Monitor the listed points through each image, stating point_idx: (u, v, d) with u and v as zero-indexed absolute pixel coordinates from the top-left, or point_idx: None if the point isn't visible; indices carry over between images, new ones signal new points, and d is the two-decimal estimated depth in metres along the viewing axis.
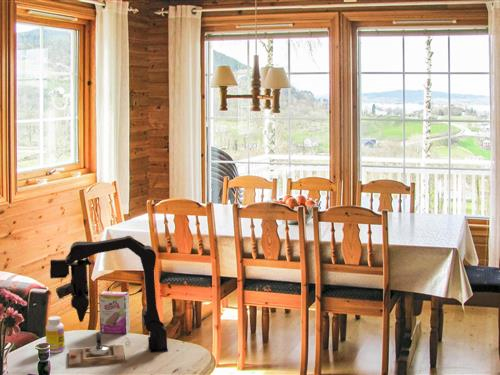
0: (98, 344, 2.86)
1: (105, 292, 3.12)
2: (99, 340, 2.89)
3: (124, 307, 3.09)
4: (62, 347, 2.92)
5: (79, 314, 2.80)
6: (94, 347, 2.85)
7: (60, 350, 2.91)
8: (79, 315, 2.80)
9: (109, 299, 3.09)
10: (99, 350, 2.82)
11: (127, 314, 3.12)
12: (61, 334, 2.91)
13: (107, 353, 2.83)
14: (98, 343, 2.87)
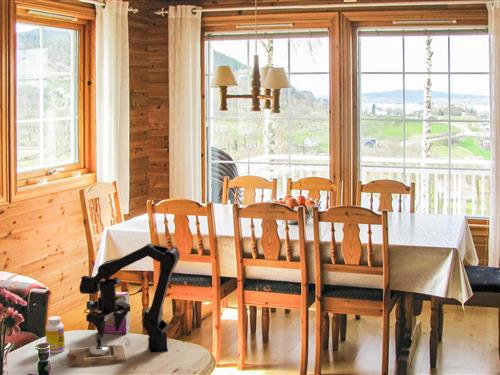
0: (98, 344, 2.86)
1: None
2: (99, 340, 2.89)
3: None
4: (62, 347, 2.92)
5: (98, 330, 2.91)
6: (94, 347, 2.85)
7: (60, 350, 2.91)
8: (98, 330, 2.92)
9: None
10: (99, 350, 2.82)
11: (127, 314, 3.12)
12: (61, 334, 2.91)
13: (107, 353, 2.83)
14: (98, 343, 2.87)
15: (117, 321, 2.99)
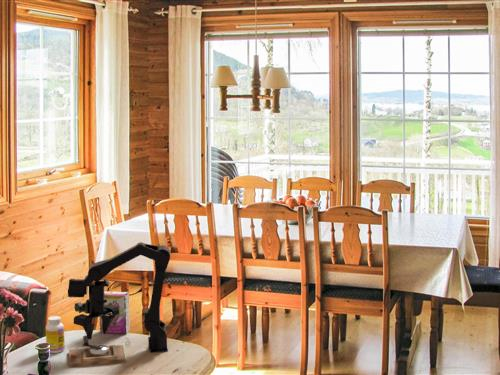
0: (94, 345, 2.85)
1: (105, 292, 3.12)
2: None
3: (124, 307, 3.09)
4: (62, 347, 2.92)
5: (86, 332, 2.87)
6: (94, 349, 2.83)
7: (60, 350, 2.91)
8: (87, 333, 2.88)
9: (109, 299, 3.09)
10: (105, 349, 2.83)
11: (127, 314, 3.12)
12: (61, 334, 2.91)
13: None
14: (91, 345, 2.86)
15: (104, 324, 2.94)
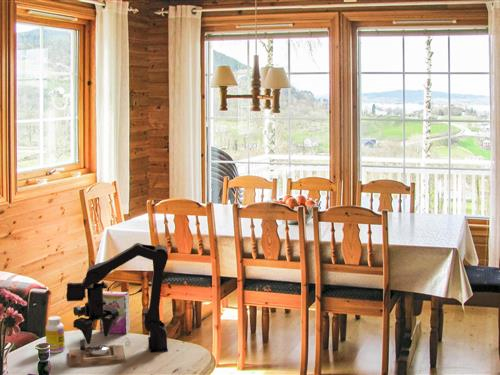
0: (93, 347, 2.84)
1: (105, 292, 3.12)
2: None
3: (124, 307, 3.09)
4: (62, 347, 2.92)
5: (85, 336, 2.85)
6: (97, 349, 2.83)
7: (60, 350, 2.91)
8: (85, 337, 2.85)
9: (109, 299, 3.09)
10: (106, 347, 2.85)
11: (127, 314, 3.12)
12: (61, 334, 2.91)
13: None
14: (90, 347, 2.83)
15: (105, 326, 2.93)
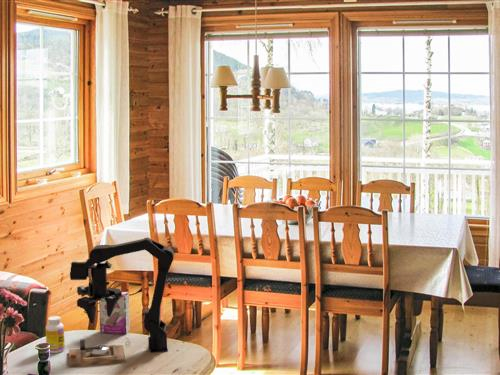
0: (93, 347, 2.84)
1: None
2: None
3: (124, 307, 3.09)
4: (62, 347, 2.92)
5: (88, 315, 2.86)
6: (97, 349, 2.83)
7: (60, 350, 2.91)
8: (89, 316, 2.87)
9: None
10: (106, 347, 2.85)
11: (127, 314, 3.12)
12: (61, 334, 2.91)
13: None
14: (90, 347, 2.83)
15: (109, 306, 2.95)
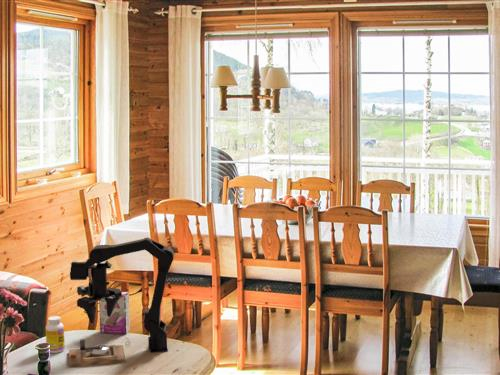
0: (93, 347, 2.84)
1: None
2: None
3: (124, 307, 3.09)
4: (62, 347, 2.92)
5: (88, 315, 2.86)
6: (97, 349, 2.83)
7: (60, 350, 2.91)
8: (89, 316, 2.87)
9: None
10: (106, 347, 2.85)
11: (127, 314, 3.12)
12: (61, 334, 2.91)
13: None
14: (90, 347, 2.83)
15: (109, 306, 2.95)
